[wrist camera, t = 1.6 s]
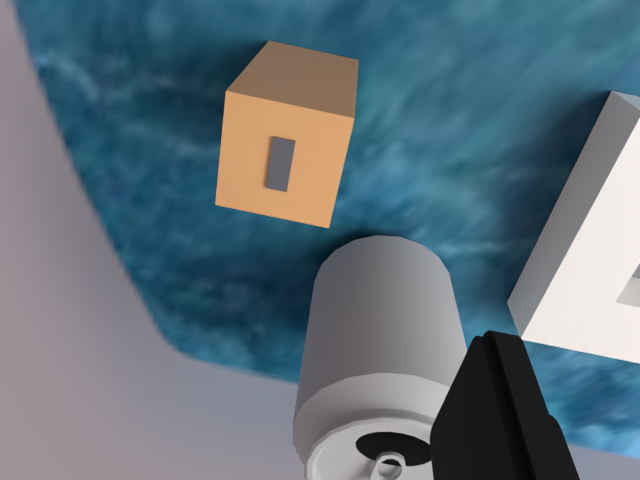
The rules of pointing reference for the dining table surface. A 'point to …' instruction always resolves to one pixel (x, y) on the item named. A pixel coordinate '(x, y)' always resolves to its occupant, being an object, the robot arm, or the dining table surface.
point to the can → (376, 362)
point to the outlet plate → (590, 248)
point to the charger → (287, 133)
